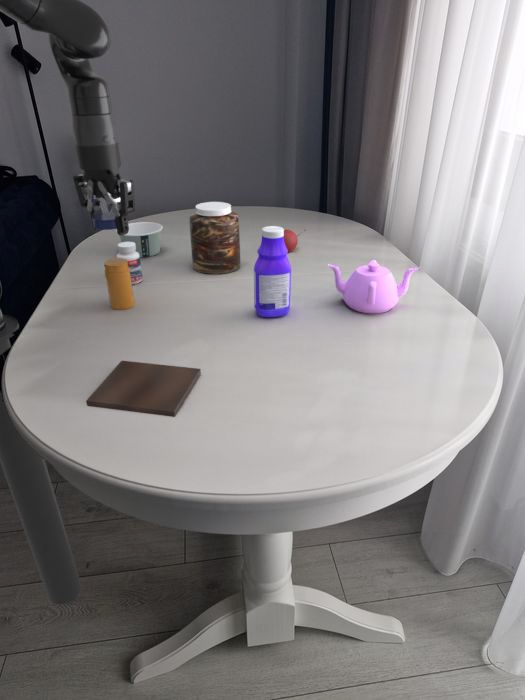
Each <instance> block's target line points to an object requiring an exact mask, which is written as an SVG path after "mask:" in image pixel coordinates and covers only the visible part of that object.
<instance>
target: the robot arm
mask: <svg viewBox="0 0 525 700" xmlns="http://www.w3.org/2000/svg"><path fill="white" fill-rule="evenodd" d="M0 12H1V13H2V14H4V15H6V16H7V17H9V18H11V19H12V20H14V21H15V22H16V23H18V24H20V25H21V26H24V27H25V28H27V29H29V30H32V31H36V32H40V33H41V32H42V33H46V34H47V37H48V38H47V39H48V44H49V47H50V51H51V53H52V56H53V59H54V62H55V64H56V66H57V69H58V71H59V74H60V77H61V79H62V81H63V83H64V85H65V87H66V93H67V98H68V104H69V110H70V114H71V115H70V116H71V129H72V130H71V131H72V134H73V141H74V147H75V151H76V157H77V163H78V167H79V169H80V170H81V171H83V173H80V174H76V175H73V176H72V179H73V183H74V187H75V190H76V194H77V198H78V201H79V205H80V206H81V208H86V209H87V211H88V212H89V214H90V219H91V225H92V227H93V230H94V231H102V230H101V229H96V228H94V226H93V221H92V219H93V218H92V217H93V216H94V215H96V214H99V213H103V210H102V209H101V208H102V203H103V200H105V201H106V203H107V205H108V206H109V207H111V209H112V212H114V213H115V215H116V216H115V220H116V226H117V229H116V230H117V232H116V233H117V235H118V236H119V235H125V234H127V233H128V231H129V226H128V224H129V220H128V214H131V213H133V212H135V211H136V202H135V200H136V199H135V182H134V181H133V179H128V180H125V179H122V177H121V174H120V172H119V170H120V168H121V166H122V161H121V153H120V147H119V141H118V131H117V127H116V123H115V118H114V115H113V114H114V113H113V108H112V101H111V94H110V89H109V84H108V81H107V80H106V79H105V78H104V77H103V76H100V75H98V74H96V72H95V71H94V69H93V67H92V63H91V61H90V60H95V59H98V58H101V57H104V55H106V54H107V52H108V51H109V50H110V49H109V48H110V47H111V42H112V37H111V35H112V34H111V31H110V28H109V25H108V24H107V22H106V21H105V18H103V16H102V15H101V14H100V13H99V12H98V11H97V10H96V9H95V8H93V7H92V6H91V5H89V4H87V3H86V2H84V1H82V0H0ZM85 196H86V197H85ZM2 314H3V312H2V309H1V308H0V331H1V330H2V329H3V328H4V327H5V325H6V324H5V320H4V318H3V316H2Z"/></svg>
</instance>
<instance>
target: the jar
mask: <svg viewBox="0 0 525 700" xmlns="http://www.w3.org/2000/svg"><path fill="white" fill-rule="evenodd" d="M189 234H190V235H189V236H190V248H191V249H190V250H191V260H192V261H191V262H192V268H193V270H194V271H197V272H200V273H202V274H208V275H223V274H229V273H232V272H236V271H237V270H239V269H240V268H241V236H240V221H239V215H238V213H237V212H235V211H232V204H231V203H228V202H223V201H206V202H201V203H198V204H196V205H195V211H194V212H193V213H191V214H190V215H189Z"/></svg>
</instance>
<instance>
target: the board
mask: <svg viewBox="0 0 525 700" xmlns="http://www.w3.org/2000/svg"><path fill="white" fill-rule="evenodd" d="M201 374H202V371H201V368H196V367H187V366H179V365H167V364H159V363H151V362H149V363H148V362H139V361H129V360H120V361H119V363H118V364H117V365H116V366H115V367H114V368H113V370H112V371H111V372H110V373H109V374H108V375H107V376H106V378H105V379H104V380H103V381H102V382H101V383H100V384H99V386H98V387H97V388H96V389H95V390H94V391H93V392H92V393H91V395H90V396H89V397H87V399H86V400H85V403H86V406H87V407H92V408H100V409H109V410H115V411H122V412H123V411H125V412H130V413H131V412H133V413H140V414H147V415H157V416H165V417H171V418H175V417H176V416H177V414H178V413H179V411H180V409H181V408H182V406H183V404H184V403H185V401H186V399H187V398H188V396H189V395H190V393H191V391H192V389H193V388H194V386H195V384H196V383H197V381H198V380H199V378H200V377H201Z"/></svg>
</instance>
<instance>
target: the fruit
mask: <svg viewBox="0 0 525 700" xmlns="http://www.w3.org/2000/svg"><path fill="white" fill-rule="evenodd" d="M303 231H304V232H306V229H304V230H303ZM303 231H301V232H300V233H298V234H296V233H295V232H294V231H293V230H291V229H284V243H285V246H286V248H287V250H288V253H292V252H294V251H295V249H296V248H297V247H298V241H299V239H298V237H299V236H300V235H301V234H302V233H303Z"/></svg>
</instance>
